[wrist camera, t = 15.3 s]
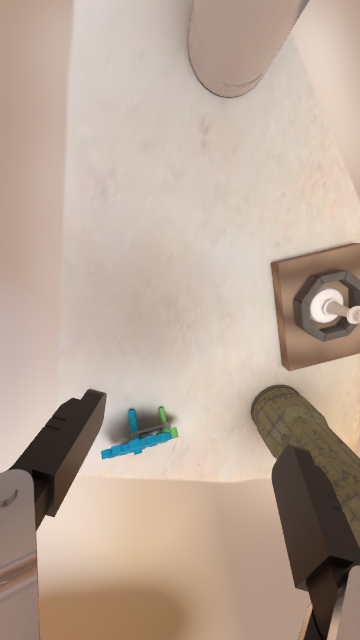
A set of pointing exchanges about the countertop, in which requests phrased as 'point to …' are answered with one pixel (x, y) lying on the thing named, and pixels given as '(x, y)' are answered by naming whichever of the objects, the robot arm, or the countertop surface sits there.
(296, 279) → the socket board
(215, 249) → the countertop surface
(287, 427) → the thermos
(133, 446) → the blue and green toy
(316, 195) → the countertop surface
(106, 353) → the countertop surface
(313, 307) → the chess piece
